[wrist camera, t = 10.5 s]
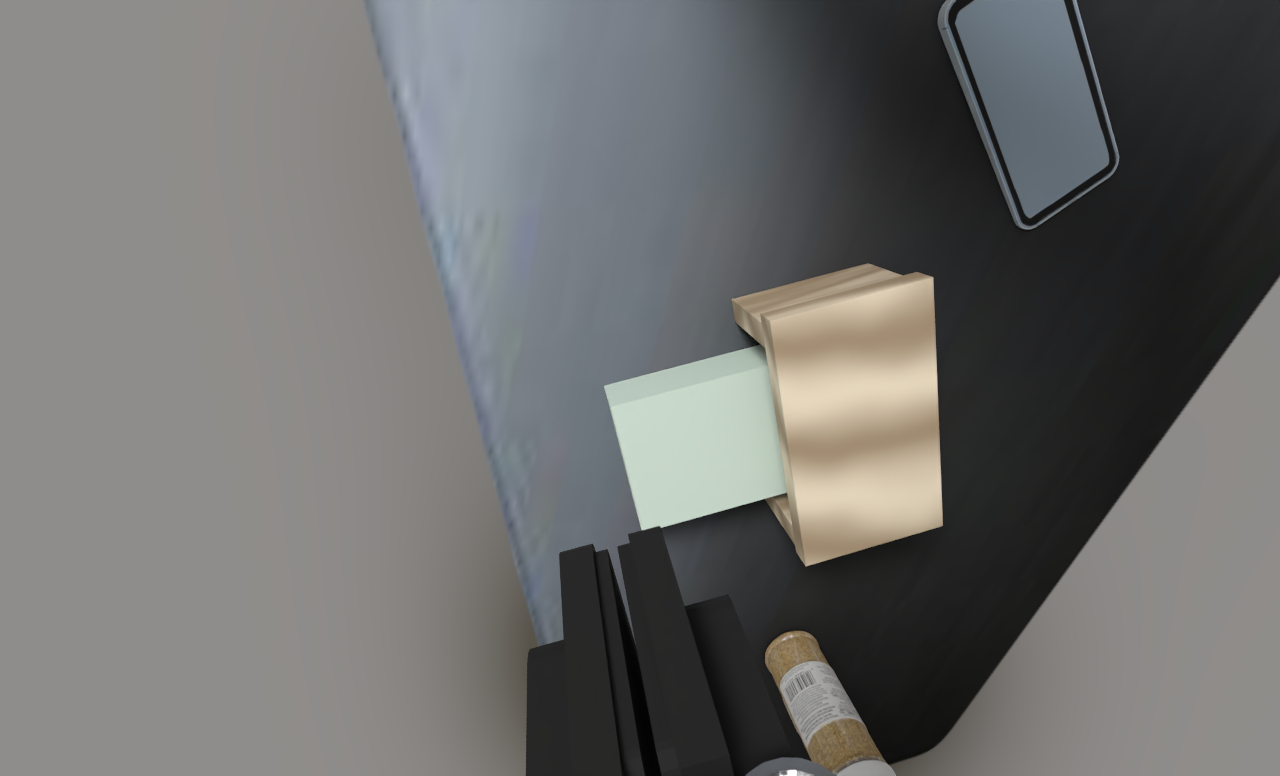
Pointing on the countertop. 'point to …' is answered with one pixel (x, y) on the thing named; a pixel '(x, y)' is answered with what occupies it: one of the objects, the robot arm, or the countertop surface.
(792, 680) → the sprinkles bottle
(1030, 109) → the smartphone
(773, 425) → the mint green block
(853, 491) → the birch shelf
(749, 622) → the countertop surface
